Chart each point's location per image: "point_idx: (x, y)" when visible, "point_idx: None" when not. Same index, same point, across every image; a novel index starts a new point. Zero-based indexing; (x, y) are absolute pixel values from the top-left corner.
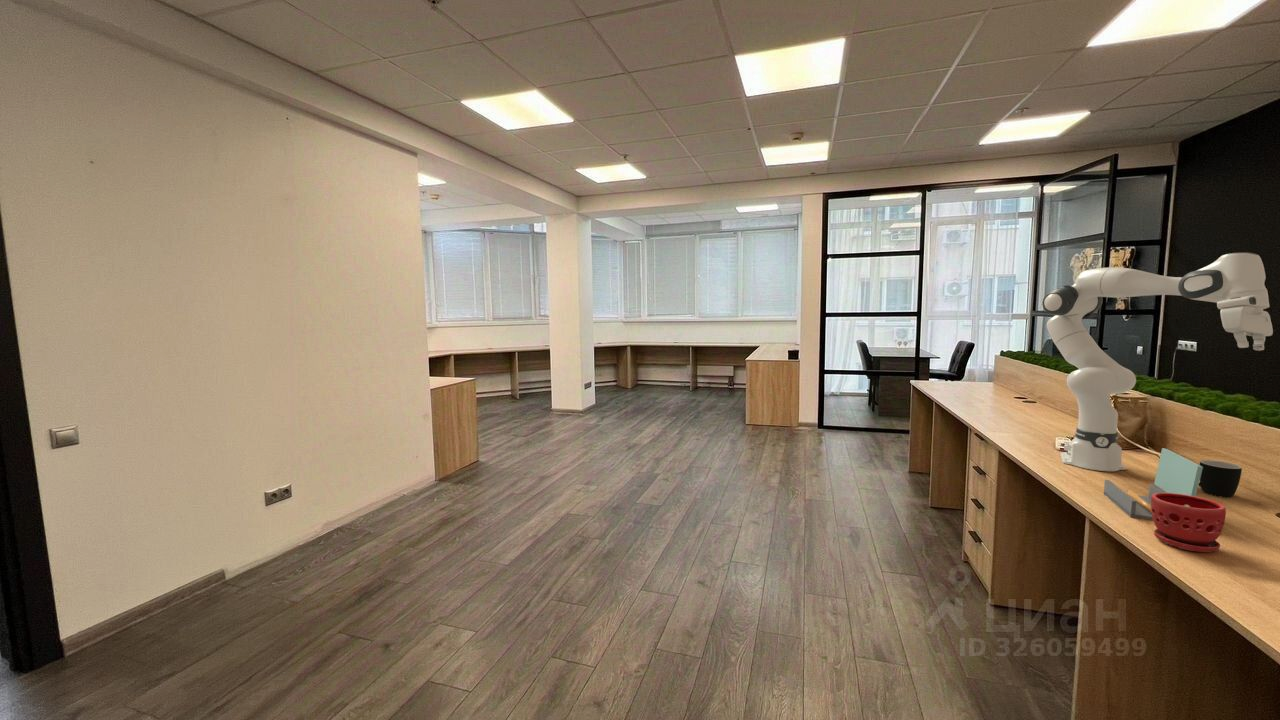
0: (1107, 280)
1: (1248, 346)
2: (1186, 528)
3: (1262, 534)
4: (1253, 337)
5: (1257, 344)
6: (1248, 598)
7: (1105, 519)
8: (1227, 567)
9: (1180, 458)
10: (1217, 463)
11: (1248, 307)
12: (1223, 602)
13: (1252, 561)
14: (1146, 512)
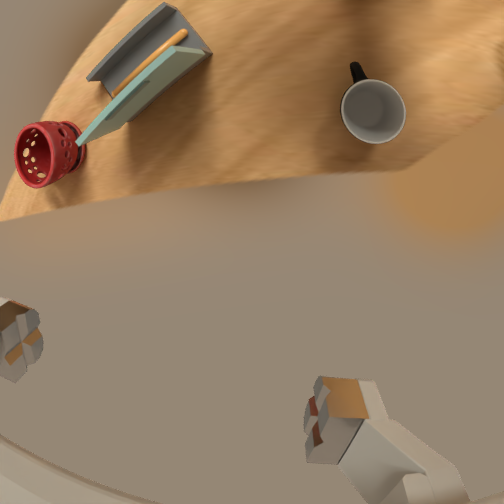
0: None
1: (37, 353)
2: (36, 159)
3: (175, 183)
4: (406, 501)
5: (319, 440)
6: (21, 206)
7: (72, 70)
8: (52, 184)
9: (113, 100)
10: (401, 105)
11: None
12: (7, 199)
13: (81, 193)
14: (120, 82)
